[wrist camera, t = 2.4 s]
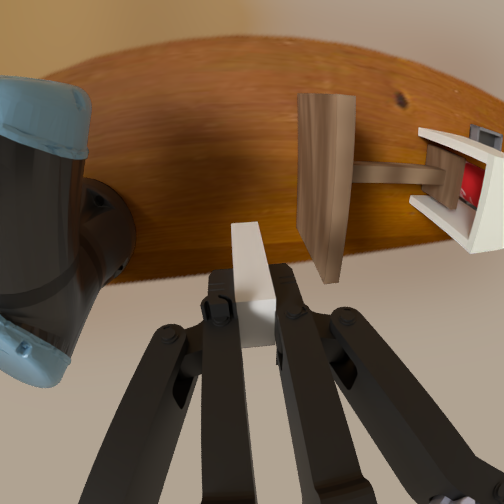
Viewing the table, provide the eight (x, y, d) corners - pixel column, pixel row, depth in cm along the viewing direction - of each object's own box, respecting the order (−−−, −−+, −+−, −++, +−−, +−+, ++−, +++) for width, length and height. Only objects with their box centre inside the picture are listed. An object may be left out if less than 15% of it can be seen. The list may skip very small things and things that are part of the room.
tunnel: (409, 202, 36) (470, 254, 24) (418, 127, 30) (494, 155, 18) (452, 202, 36) (510, 247, 24) (463, 136, 30) (532, 166, 18)
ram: (296, 227, 36) (324, 284, 26) (297, 93, 27) (337, 94, 17) (421, 220, 37) (468, 262, 27) (436, 111, 28) (499, 130, 18)
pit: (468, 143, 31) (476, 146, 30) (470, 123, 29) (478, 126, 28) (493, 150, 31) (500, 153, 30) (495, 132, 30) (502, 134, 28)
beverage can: (458, 174, 34) (510, 206, 24) (438, 190, 35) (490, 226, 25) (451, 147, 31) (508, 173, 21) (429, 162, 33) (486, 193, 23)
